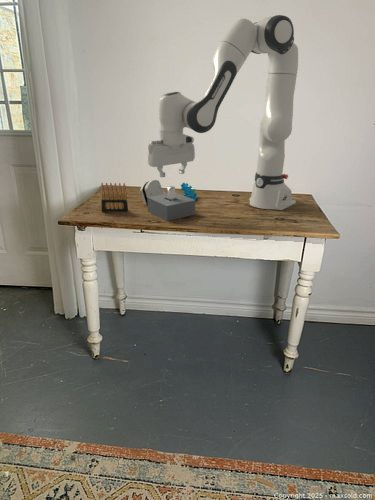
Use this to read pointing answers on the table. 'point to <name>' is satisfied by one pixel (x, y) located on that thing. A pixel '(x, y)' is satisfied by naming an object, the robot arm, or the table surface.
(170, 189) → the steel pin
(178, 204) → the pin block
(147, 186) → the hinge
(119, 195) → the ammunition clip
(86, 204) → the table surface
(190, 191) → the gear
